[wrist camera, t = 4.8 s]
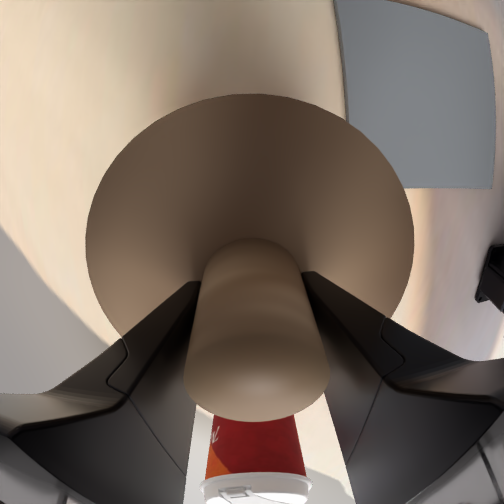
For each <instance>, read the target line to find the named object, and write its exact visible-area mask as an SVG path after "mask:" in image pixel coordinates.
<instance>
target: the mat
mask: <svg viewBox="0 0 504 504" xmlns="http://www.w3.org/2000/svg"><path fill="white" fill-rule="evenodd" d="M333 1H334V7H335V13H336V20H337V27H338V34H339V42H340V50H341V59H342V69H343V80H344V93H345V107H346V122H348V123H349V124H351V125H352V126H354V127H355V128H356V129H358V130H359V131H361V132H362V133H363V134H364V135H365V136H366V137H367V138H368V139H369V140H370V141H371V142H372V143H373V144H374V145H375V146H376V147H377V148H378V149H379V150H380V151H381V152H382V154H383V155H384V156H385V158H386V159H387V160H388V162H389V163H390V164H391V166H392V167H393V169H394V171H395V173H396V174H397V176H398V178H399V180H400V182H401V184H402V186H403V188H475V189H492V182H493V172H494V160H495V140H496V106H495V87H494V75H493V66H492V58H491V50H490V44H489V38H488V33H486V32H484V31H482V30H479V29H477V28H475V27H472V26H470V25H467V24H465V23H462V22H460V21H457V20H454V19H451V18H449V17H446V16H443V15H440V14H437V13H434V12H430V11H427V10H424V9H420V8H416V7H413V6H409V5H405V4H401V3H396V2H392V1H387V0H333Z"/></svg>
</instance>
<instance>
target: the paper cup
mask: <svg viewBox="0 0 504 504" xmlns="http://www.w3.org/2000/svg"><path fill="white" fill-rule="evenodd" d="M311 486H312V481H311V479H309V478H308V477H307V476H306V472H305V467H304V462H303V457H302V452H301V448H300V443H299V438H298V433H297V428H296V424H295V419H294V414H293V415H290V416H287V417H284V418H281V419H276V420H271V421H263V422H244V421H236V420H231V419H227V418H223V417H220V416H217V415H215V414H214V418H213V425H212V432H211V439H210V447H209V454H208V461H207V468H206V476H205V480H204V481H203V482H201V483H200V489H201V491H202V492H203V493H204V497H205V502H206V503H207V504H304V503H305V502H306V501H307V499H308V491H309V489H310V488H311Z"/></svg>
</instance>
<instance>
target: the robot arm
mask: <svg viewBox="0 0 504 504" xmlns="http://www.w3.org/2000/svg"><path fill="white" fill-rule="evenodd" d="M301 277H302V280H303V283H304V286H305V289H306V292H307V295H308V298H309V302H310V305H311V308H312V311H313V314H314V317H315V321H316V324H317V327H318V330H319V334H320V337H321V340H322V344H323V347H324V350H325V354H326V357H327V360H328V364H329V368H330V379H329V383H328V385H327V387H326V389H325V391H324V394H325V397H326V401H327V404H328V407H329V410H330V414H331V417H332V421H333V424H334V427H335V431H336V434H337V438H338V441H339V444H340V448H341V451H342V455H343V458H344V462H345V465H346V469H347V473H348V477H349V480H350V484H351V487H352V491H353V495H354V498H355V502H356V504H504V358H501V359H495V360H488V361H471V360H467V359H463V358H461V357H459V356H457V355H455V354H453V353H451V352H449V351H447V350H445V349H443V348H441V347H439V346H437V345H436V344H434V343H432V342H430V341H428V340H426V339H424V338H422V337H420V336H418V335H417V334H415V333H413V332H411V331H409V330H408V329H406V328H404V327H403V326H401V325H399V324H398V323H396V322H395V321H393V320H391V319H390V318H388V317H386V316H385V315H384V314H382V313H380V312H379V311H377V310H376V309H374V308H373V307H371V306H369V305H368V304H366V303H365V302H363V301H362V300H360V299H358V298H357V297H355V296H354V295H352V294H351V293H349V292H347V291H346V290H344V289H343V288H341V287H339V286H338V285H336V284H335V283H333V282H331V281H330V280H328V279H327V278H325V277H323V276H322V275H320V274H319V273H317V272H315V271H305V272H302V273H301ZM201 284H202V282H201V281H188V282H187V283H185V284H184V285H183V286H182V287H181V288H179V289H178V290H177V291H176V292H175V293H173V294H172V295H171V296H170V297H169V298H167V299H166V300H165V301H164V302H163V303H161V304H160V305H159V306H158V307H157V308H155V309H154V310H153V311H152V312H151V313H149V314H148V315H147V316H146V317H145V318H143V319H142V320H141V321H140V322H139V323H137V324H136V325H135V326H134V327H133V328H132V329H130V330H129V331H128V332H127V333H126V334H124V335H123V336H122V339H121V338H120V339H118V340H117V341H116V342H115V343H114V344H113V345H111V346H110V347H109V348H108V349H106V350H105V351H104V352H103V353H102V354H100V355H99V356H98V357H97V358H95V359H94V360H92V361H91V362H90V363H88V364H87V365H85V366H84V367H83V368H81V369H80V370H78V371H77V372H76V373H74V374H73V375H72V376H70V377H69V378H67V379H66V380H64V381H63V382H62V383H60V384H59V385H57V386H56V387H54V388H53V389H51V390H49V391H46V392H43V393H39V394H2V393H0V504H183V500H184V491H185V484H186V474H187V467H188V459H189V453H190V445H191V438H192V431H193V424H194V418H195V411H196V403H195V402H194V401H193V400H192V398H191V397H190V396H189V395H188V393H187V391H186V389H185V386H184V380H183V376H184V369H185V363H186V358H187V353H188V348H189V342H190V337H191V332H192V327H193V322H194V317H195V312H196V307H197V302H198V298H199V293H200V288H201ZM475 300H476V301H477V302H478V303H480V302H484V301H487V300H490V301H491V302H492V303H493V304H494V305H495V306H496V307H497V308H498V309H499V310H500V311H501V312H503V313H504V244H499V245H493V246H491V247H490V249H489V252H488V256H487V260H486V264H485V267H484V271H483V274H482V278H481V281H480V285H479V288H478V291H477V294H476V297H475Z"/></svg>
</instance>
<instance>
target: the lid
mask: <svg viewBox="0 0 504 504" xmlns="http://www.w3.org/2000/svg"><path fill="white" fill-rule="evenodd" d="M85 240H86V261H87V267H88V273H89V277H90V280H91V284H92V287H93V290H94V293H95V295H96V297H97V300H98V302H99V304H100V306H101V308H102V310H103V312H104V313H105V315H106V316H107V318H108V320H109V321H110V323H111V324H112V326H113V327H114V328H115V329H116V331H117V332H118V333H119V334H120V335H121V337H122V336H123V335H124V334H126V333H127V332H128V331H129V330H130V329H132V328H133V327H134V326H135V325H136V324H137V323H139V322H140V321H141V320H142V319H143V318H145V317H146V316H147V315H148V314H149V313H151V312H152V311H153V310H154V309H155V308H157V307H158V306H159V305H160V304H161V303H163V302H164V301H165V300H166V299H167V298H169V297H170V296H171V295H172V294H173V293H175V292H176V291H177V290H178V289H179V288H181V287H182V286H183V285H184V284H185V283H187V282H188V281H201V282H202V284H201V288H200V293H199V298H198V302H197V307H196V312H195V317H194V322H193V327H192V332H191V337H190V342H189V348H188V353H187V358H186V363H185V369H184V376H183V380H184V386H185V389H186V391H187V393H188V395H189V396H190V397H191V398H192V400H193V401H194V402H195V403H196V404H198V405H199V406H200V407H202V408H203V409H205V410H206V411H208V412H210V413H212V414H215V415H217V416H220V417H223V418H227V419H231V420H236V421H244V422H263V421H271V420H276V419H281V418H284V417H287V416H290V415H293V414H295V413H298V412H300V411H302V410H303V409H305V408H307V407H308V406H310V405H311V404H313V403H314V402H315V401H316V400H317V399H318V398H319V397H320V396H321V395H322V394H323V392H324V391H325V389H326V387H327V385H328V383H329V379H330V368H329V364H328V360H327V357H326V354H325V350H324V347H323V344H322V340H321V337H320V334H319V330H318V327H317V324H316V321H315V317H314V314H313V311H312V308H311V305H310V302H309V298H308V295H307V292H306V289H305V286H304V283H303V280H302V277H301V273H302V272H305V271H315V272H317V273H319V274H320V275H322V276H323V277H325V278H327V279H328V280H330V281H331V282H333V283H335V284H336V285H338V286H339V287H341V288H343V289H344V290H346V291H347V292H349V293H351V294H352V295H354V296H355V297H357V298H358V299H360V300H362V301H363V302H365V303H366V304H368V305H369V306H371V307H373V308H374V309H376V310H377V311H379V312H380V313H382V314H384V315H385V316H386V317H388V318H391V317H392V315H393V314H394V312H395V310H396V308H397V306H398V304H399V303H400V301H401V299H402V296H403V294H404V291H405V289H406V286H407V284H408V280H409V276H410V272H411V268H412V263H413V254H414V226H413V220H412V215H411V210H410V205H409V202H408V199H407V197H406V194H405V191H404V188H403V186H402V184H401V182H400V180H399V178H398V176H397V174H396V173H395V171H394V169H393V167H392V166H391V164H390V163H389V162H388V160H387V159H386V158H385V156H384V155H383V154H382V152H381V151H380V150H379V149H378V148H377V147H376V146H375V145H374V144H373V143H372V142H371V141H370V140H369V139H368V138H367V137H366V136H365V135H364V134H363V133H362V132H361V131H359V130H358V129H356V128H355V127H354V126H352V125H351V124H349V123H348V122H346V121H345V120H343V119H342V118H340V117H339V116H337V115H335V114H333V113H331V112H328V111H326V110H324V109H322V108H320V107H318V106H316V105H313V104H309V103H306V102H303V101H299V100H296V99H292V98H288V97H282V96H274V95H266V94H237V95H227V96H222V97H216V98H211V99H206V100H203V101H200V102H197V103H194V104H191V105H188V106H186V107H183V108H180V109H178V110H176V111H174V112H172V113H170V114H168V115H166V116H165V117H163V118H161V119H159V120H157V121H156V122H154V123H153V124H151V125H150V126H149V127H147V128H146V129H145V130H143V131H142V132H141V133H140V134H138V135H137V136H136V137H135V138H133V139H132V140H131V142H130V143H129V144H128V145H127V146H126V147H125V148H124V149H123V150H122V151H121V152H120V153H119V154H118V155H117V157H116V158H115V160H114V161H113V162H112V164H111V165H110V167H109V168H108V170H107V171H106V173H105V174H104V176H103V178H102V180H101V182H100V184H99V186H98V189H97V191H96V193H95V195H94V198H93V201H92V205H91V208H90V212H89V215H88V221H87V229H86V237H85Z"/></svg>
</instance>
